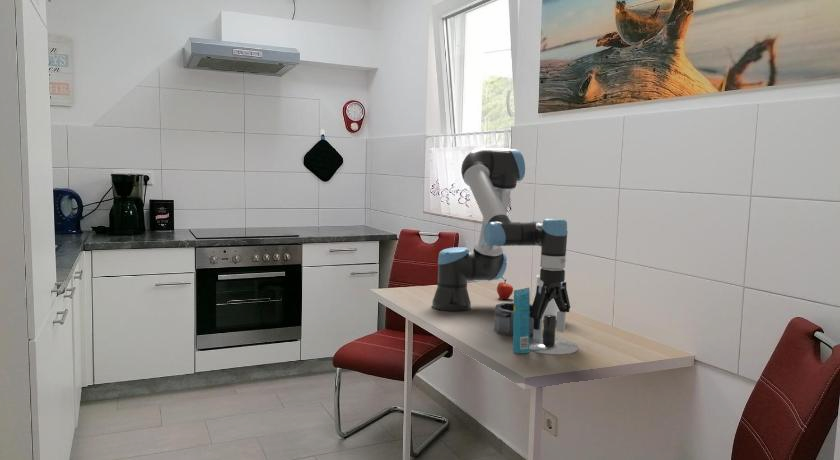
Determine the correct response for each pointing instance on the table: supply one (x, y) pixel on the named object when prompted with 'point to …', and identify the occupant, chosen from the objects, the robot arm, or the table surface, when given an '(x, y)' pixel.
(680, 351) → the table surface
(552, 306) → the cup
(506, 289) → the apple
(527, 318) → the tube
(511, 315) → the pot
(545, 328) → the lid
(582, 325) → the table surface
